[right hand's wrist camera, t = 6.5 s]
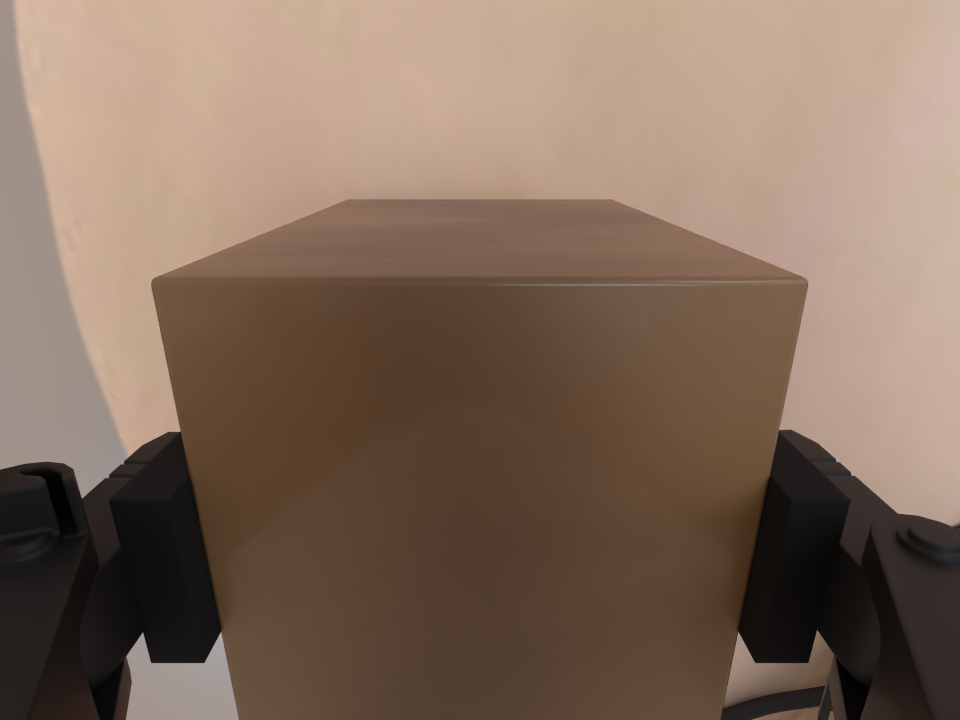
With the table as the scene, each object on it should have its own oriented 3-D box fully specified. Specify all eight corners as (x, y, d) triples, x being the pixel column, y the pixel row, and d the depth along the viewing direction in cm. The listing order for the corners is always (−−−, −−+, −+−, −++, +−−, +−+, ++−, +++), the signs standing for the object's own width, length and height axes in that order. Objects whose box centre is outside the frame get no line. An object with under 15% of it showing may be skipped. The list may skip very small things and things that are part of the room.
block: (614, 199, 17) (813, 278, 7) (595, 444, 20) (715, 757, 10) (345, 199, 17) (145, 277, 7) (364, 444, 20) (244, 757, 10)
